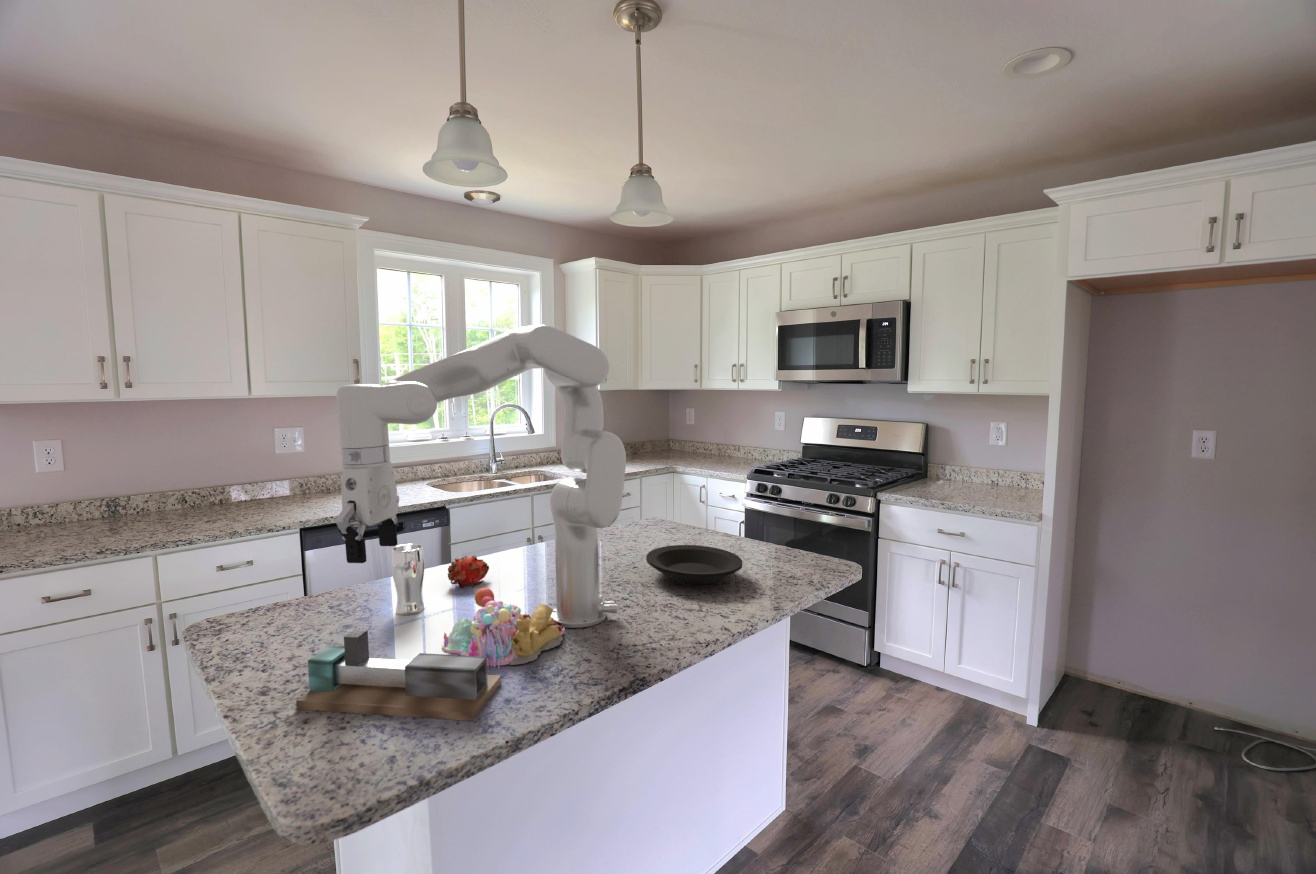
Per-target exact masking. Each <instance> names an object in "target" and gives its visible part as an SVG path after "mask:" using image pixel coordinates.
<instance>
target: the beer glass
mask: <svg viewBox="0 0 1316 874" xmlns="http://www.w3.org/2000/svg"><path fill="white" fill-rule="evenodd" d="M423 549H424V548H423V545H422V544H420V543H405V544H399V545H396V546H392V548H391V572H392V573H391V574H392V579H393V582H394V586H395V587H394V588H395V591H396V597H397V598H396V600H397V601H396V605H395V606H396V607H395V608H396V609H395V612H396V614H397V615H400V616H411V615H412V616H413V615H417V614H419V613H421V612H423V611H424V610H425V605H424V602H423V600H424V599H423V595H422V593H423V592H422V591H423V584H424V575H425V574H424V573H425V555H424V550H423Z"/></svg>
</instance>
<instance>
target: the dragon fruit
mask: <svg viewBox="0 0 1316 874" xmlns="http://www.w3.org/2000/svg"><path fill="white" fill-rule="evenodd" d="M453 560H454V561H452V562H451V564H450V565H449V566H448V567H447V571H448V573H447V578H448V580H449V581H450V584H451V585H457V584H458V587H459V588H463V587H464V586H466V587H470V588H472V587H474V585H481V584H482V583H483V582H484V578H485V577H486V576H487V574H488V573H489V570H490V565H488V563H487V562H486V561H484V559H478V557H477V556H476V555H472V556H471V557H468V556H467V555H465V556H464V557H462V558H458V557H457V558H455V559H453Z"/></svg>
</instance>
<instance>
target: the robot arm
mask: <svg viewBox="0 0 1316 874" xmlns="http://www.w3.org/2000/svg"><path fill="white" fill-rule="evenodd" d="M533 369H543V371H544V373H545V376H546V377H547V378H546V379H548V381H549V382H550V383H551V384H552V385H553V386H554V387H555V388H556V389H557V390H558V393H559V395H560V396H561V399H562V402H563V405H564V406H563V408H564V413H563V414H564V416H563V417H564V418H563V419H564V420H563V428H562V438H561V447H560V455H561V456H560V459H561V462H562V463H563V465H564V467H566V468H567V469H568V470H571V471H573V472H578V473H581V474H582V473H583V474H586V476H585V477H586V478H580V477H566V478H563V479H561V480H560V481H558V482H557V483H556V484H555V485H554V487H553V488H552V491H551V493H550V497H549V506H550V513H551V517H552V518H551V519H552V522H553V529H554V542H555V543H554V544H555V550H554V552H555V592H556V594H555V598H556V603H555V604H556V607H554V608H552V609H553V612H552V614H551V616H550V617H551V618H553V619H554V621H555V620H556V621H557V622H559V623H560V624H561V626H563V627H564V628H567V629H570V628H571V629H581V628H588V627H592V626H595V625H598V624H600V623H601V622H603V621H604V620H605V619H606V617H607V614H608V613H609V614H618V613H619V604H616V601H610V600H609V601H605V599H603V597H604V596H603V593H601V594H600V575H599V574H600V572H599V571H600V569H599V568H600V566H599V565H600V564H599V555H600V554H599V553H600V552H599V549H600V548H599V536H598V530H597V529H603V528H604V529H605V528H607V527H610V526H612V524H614V523H615V522H616V521H617V519H618V517H619V515H620V513H621V509H622V504H623V498H624V496H623V495H624V487H625V476H626V467H627V466H626V465H627V455H626V448H625V446H624V443H623V442H622V440H621V438H620V437H619V436H618V435H616V434H615V433H613V432H610V431H606V430H603V426H604V425H603V423H604V422H603V421H604V404H603V399H602V396H601V393H600V390H599V389H598V386H600V385H601V384H602V383H604V382H605V380H606V379H607V377H608V375H609V372H610V364H609V360H608V358H607V355H606V354H605V353H604V351H602V349H600V348H599V347H597V346H596V345H593V344H591V343H590V342H587V341H585V340H583V339H580V338H578V337H576V336H574V335H572V334H570V333H568V332H566V331H563V330H561V329H559V328H557V327H554V326H551V325H548V324H534V325H526V326H519V327H516V328H513V329H511V330H509V331H506V332H503V333H501V334H498V335H496V336H494V337H492V338H490V339H489V340H486V341H483V342H481V343H479V344H476V345H474V346H472V347H470V348H467V349H465V350H462V351H459V352H457V353H455V354H452V355H449V356H446V357H444V358H442V359H440V360H437V361H435V362H432V363H430V364H426V365H424V366H422V367H419V368H417V369H414V370H411V371H409V372H406V373H405V374H402V375H399V376H398V377H397V376H396V377H395V378H393V379H391V380H389V381H387V382H385V383H383V384H381V385H380V384H377V383H358V384H357V383H356V384H355V383H354V384H353V383H352V384H345V385H342V386H340V387H338V389H337V391H336V403H337V404H336V405H337V416H338V417H337V418H338V430H339V431H338V432H339V443H340V445H339V446H340V454H341V455H340V457H341V467H342V472H341V511H340V512H339V514H337V517H335V524H336V526H337V528H338V532H339V535H341V537H342V540H343V541H344V542H345V544H344V546H345V553H346V555H345V556H346V563H348V564H364V563H366V562H367V550H366V549H367V548H366V547H367V546H366V539H365V538H363V536H364V533H365V530H366V527H367V526H369V527H371V526H376V525H377V530H378V542H379V543H378V544H379V546H380V547H396V546H398V533H397V532H398V531H397V523H398V517H397V515H398V513H399V509H400V508H399V507H400V505H399V503H400V496H399V495H398V489H397V482H396V476H395V471H394V467H393V463H392V461H391V453H390V438H389V427H388V426H389V424H398V425H418V424H423V423H425V422H427V421H428V420H429V419H431V418H432V417H433V416H434V415H435V413H436V411H437V408H438V403H440V402H443V401H447V400H450V399H453V398H460V397H466V396H470V395H471V396H472V395H476V394H480V393H483V392H485V391H488V390H490V389H492V388H494V387H496V386H498V385H500V384H502V383H504V382H507V380H510V379H512V378H514V377H516V376H518V375H520V374H523V373H524V372H526V371H529V370H533ZM356 527H357V529H354V528H356Z"/></svg>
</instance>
